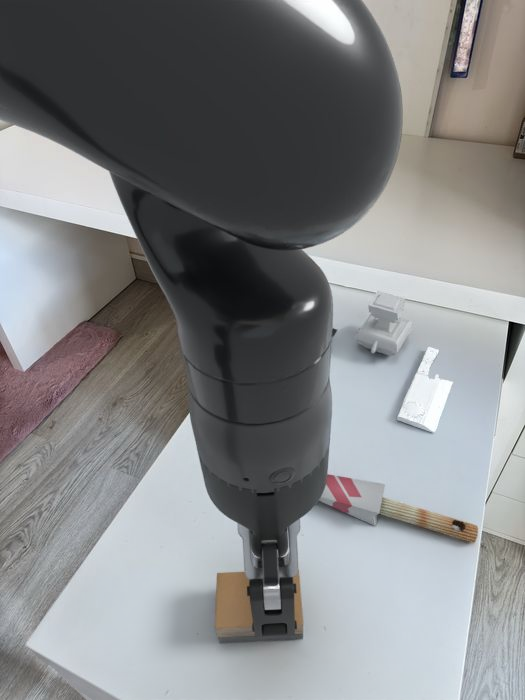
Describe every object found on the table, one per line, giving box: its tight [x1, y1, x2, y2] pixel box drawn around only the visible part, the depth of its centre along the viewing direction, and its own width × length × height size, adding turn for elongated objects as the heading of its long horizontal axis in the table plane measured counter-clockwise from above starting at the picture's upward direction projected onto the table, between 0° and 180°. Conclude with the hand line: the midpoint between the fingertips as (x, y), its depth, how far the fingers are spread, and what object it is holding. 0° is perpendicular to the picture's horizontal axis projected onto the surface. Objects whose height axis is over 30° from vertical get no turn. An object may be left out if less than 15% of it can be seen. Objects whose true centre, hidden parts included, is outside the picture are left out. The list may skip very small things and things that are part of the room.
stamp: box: [354, 290, 413, 357], centre depth 75 cm, size 9×7×8 cm
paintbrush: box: [318, 473, 479, 544], centre depth 56 cm, size 4×3×20 cm
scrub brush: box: [214, 571, 304, 644], centre depth 49 cm, size 8×5×4 cm, turn 92°
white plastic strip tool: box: [396, 346, 454, 434], centre depth 70 cm, size 5×15×1 cm, turn 151°
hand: (272, 558), depth 39 cm, fingers open, 8 cm apart
